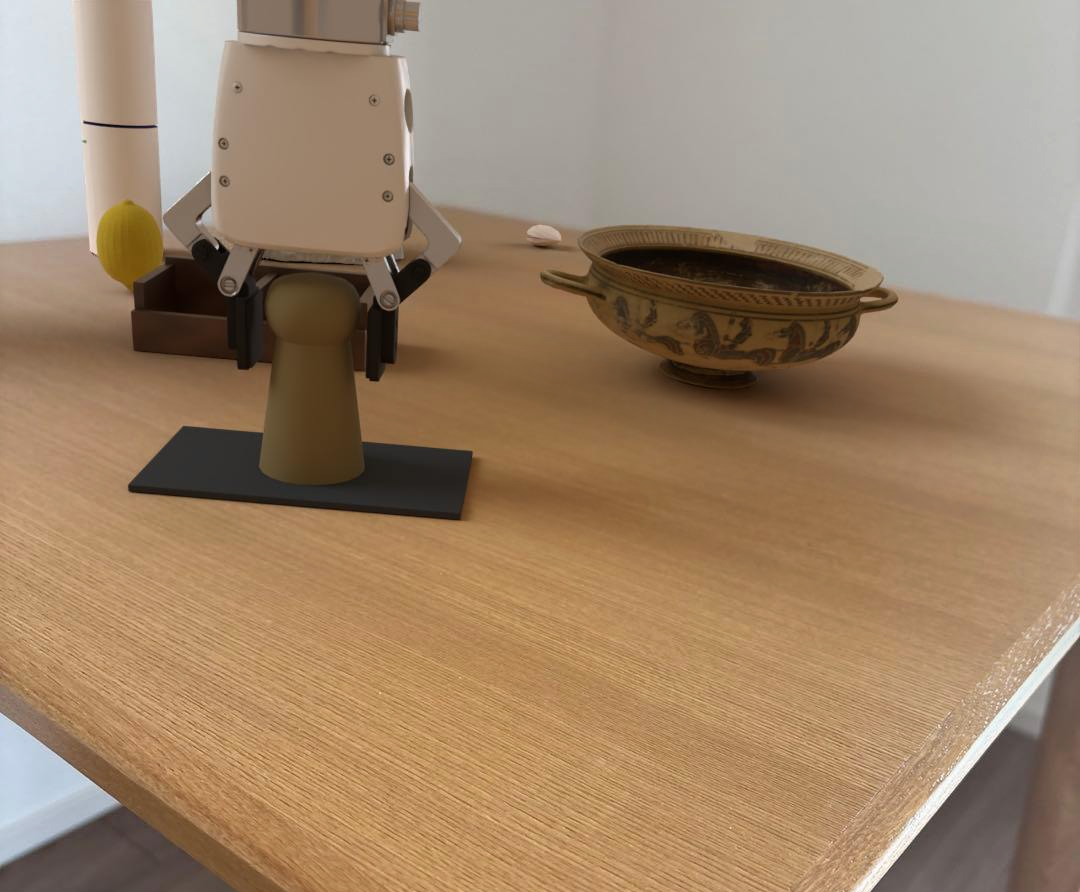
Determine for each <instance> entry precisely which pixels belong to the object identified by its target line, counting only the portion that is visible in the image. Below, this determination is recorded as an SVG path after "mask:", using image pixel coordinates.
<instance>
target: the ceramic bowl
mask: <svg viewBox="0 0 1080 892" xmlns="http://www.w3.org/2000/svg"><path fill="white" fill-rule="evenodd" d="M576 240H577V241H576V243H577V245H578V247H579V248H580V251H582V253H583V254H584V255H585V256H586V257H587V258H588V259H589V260H590V261H591V264H590V266H589V268H588V272H587V274H584V275H576V274H571V273H567V272H565V271H560V270H555V269H548V268H547V269H545V268H543V269H542V270H541V271H540V273H539V275H540V276H539V277H540V281H541V282H542V283H543V284H544V285H547V286H549V287H551V288H553V289H556V290H560V291H563V292H567V293H570V294H572V295H576V296H580V297H584V298H586V301H587V304H588V306H589V308H590V309H591V311H592V313H593V315H595V317H596V318H597V319H598V320H599V321H600V322H601V323H602V324H603V325H604V326H605V327H606V328H607V329H608V330H609V331H611V332H612V333H613V334H615V335H616V336H618V337H619V338H621V339H623V340H625V342H628V343H630V344H632V345H633V346H634V347H635V346H636V347H637V348H639V349H641V350H643V351H646V352H648V353H650V354H653V355H656V356H658V357H661V358H664V359H663V360H661V361H660V362H659V366H658V367H659V369H660V371H661V372H662V373H663V374H664V375H666V376H667V377H669V378H671V379H675V380H677V381H680V382H683V383H687V384H690V385H694V386H699V387H704V388H713V389H728V390H729V389H730V390H731V389H732V390H733V389H741V388H748V387H750V386H753V385H755V384H756V383H757V382H758V374H757V373H756V372H758V371H772V370H780V369H781V370H782V369H788V368H793V367H798V366H802V365H806V364H810V363H814V362H818V361H820V360H822V359H824V358H827V357H829V356H831V355H832V354H834V353H836V352H838V351H839V350H841V349H842V348H844V347H845V346H846V345H847V344H848V343H849V342H851V340H852V339H853V338H854V336H855V335H856V333H857V331H858V328H859V326H860V322H861V317H862V315H864V314H869V313H878V312H882V311H886V310H889V309H892V308H893V307H894V306H895V305H896V304H898V303H899V296H898V295H897V293H896V292H895V291H894V290H893V289H890V288H887V287H883V286H882V287H881V285H882V283H883V281H884V279H885V278H884V275H883V273H882V272H880V270H878V269H877V268H875V267H872V266H870V265H868V264H865V263H863V262H861V261H858V260H856V259H853V258H850V257H848V256H845V255H842V254H840V253H836V252H833V251H828V250H825V249H821V248H818V247H815V246H811V245H806V244H802V243H798V242H793V241H789V240H788V241H787V240H782V239H777V238H773V237H767V236H761V235H756V234H748V233H742V232H736V231H730V230H729V231H728V230H720V229H710V228H700V227H692V226H681V225H665V224H664V225H663V224H619V225H608V226H603V227H597V228H593V229H590V230H587V231H584V232H582V233H581V234H580V235H578V237H577V239H576ZM863 298H875V300H869V301H861V299H863Z"/></svg>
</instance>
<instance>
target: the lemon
mask: <svg viewBox="0 0 1080 892" xmlns="http://www.w3.org/2000/svg"><path fill="white" fill-rule="evenodd" d="M96 245H97V253H98V256H97V257H98V260H99V262H100V265H101V267H102V268H103V270H104V271H105V272H106V274H107V275H109V276H110V278H112V279H113V280H114V281H116V282H119V283H121V284H122V285H123V286H125V288H126V289H127V290H128V291H131V292H134V290H133V282H134V281H136V280H137V279H139V278H141V277H142V276H144V275H146V274H147V273H149V272H151V271H153V270H154V269H156V268H158V267H159V266H161V265H162V262H163V259H164V257H163V256H164V255H163V249H164V242H163V243H162V237H161V233H160V230H159V227H158V225H157V223H156V221H155V219H154V217H153V216H152V215H151V214H150V213H149V212H148V211H147V210H145V209H144V208H142V207H140V206H138V205H136V204H134V203H133V202H132V200H128V199H126V200H123V201H122V202H121V203H120V204H117V205H115V206H113V207H111V208H110V209H108V210H107V211H106V212H105V213H104V215H103V216H102V218H101V220H100V222H99V226H98V230H97V239H96Z"/></svg>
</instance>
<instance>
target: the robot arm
mask: <svg viewBox="0 0 1080 892" xmlns="http://www.w3.org/2000/svg"><path fill="white" fill-rule="evenodd" d="M421 27H422V2H419V1H418V2H417V1H408V0H236V29H237V31H236V32H237V33H236V34H237V35H236V36H237V40H236V39H235V40H234V39H229V40H224V43H223V48H222V54H221V59H220V60H221V61H220V66H219V72H218V79H217V88H216V96H215V105H214V106H215V107H214V119H213V129H212V130H213V131H212V146H211V147H212V149H211V170H209V171H208V172H207V173H206V174H205V175H203V177H201V179H200V180H198V181H197V182H196V183H195V184H194V185H193V186H192V187H191V188H190V189H189V190H187V191H186V192H185V193H184V194H183V195H182V196H181V197H180V198H179V199H177V201H175V202H174V203H173V204H172V205H171V206H170V207H169V208H168V209H167V210H166V211H165V212H164V213H163V214H162V222H163V223H164V225H165V226H166V228H167V229H169V231H170V232H171V233H172V234H173V236H175V238H176V239H177V240H178V241H179V242H180V243H181V245H183V246H184V248H186V249H187V250H188V251H189V252H190V253H191V257H193V258H194V259H195V260H196V262H197V263H198V264H199V265H200V266H201V267H202V268H203V269H204V270H205V271H206V272H207V273H208V274H209V275H210V276H211V277H212V278H213V279H214V281H215V282H216V283H217V284H218V288H219V290H220V292H221V293H222V294H224V295H225V296H226V300H227V337H228V348H229V349H230V350H237V359H236V366H237V367H236V368H237V370H238V371H241V370H242V371H249V370H250V369H252V368H254V366H255V365H257V364H258V362H259V360H260V359H261V357H262V356H263V295H262V291H259V287H256V280H255V278H254V275H255V273H256V270H257V268H258V266H259V264H260V263H261V262H262V260H263V259H262V257H263V255H264V252H265V250H266V249H271V250H281V251H291V252H302V253H313V254H325V255H336V256H347V257H360V260H361V262H362V264H361V265H362V267H363V269H364V273H366V275H367V277H368V279H369V282H370V284H371V287H372V289H373V292H374V294H375V295H374V297H373V304H372V306H371V307H370V309H369V310H368V313H367V344H366V368H365V379H367V380H368V381H369V382H374V383H376V382H377V383H379V382H380V380H381V379H382V376H383V374H384V373H385V371H386V368H387V364H389V365H395V363H396V362H397V356H398V341H399V339H398V338H399V337H398V335H399V315H400V310H399V309H400V305H401V304H402V303H403V302H404V301H406V300H407V299H408V298H409V297H410V296H411V295H412V294H413V293H415V291H417V290H418V289H419V288H420V287H421V286H423V285H424V284H425V283H426V282H428V280H429V279H430V278H431V277H432V276H433V275H434V274H435V273H436V272H437V271H439V270H440V269H441V268H442V267H443V266H444V265H445V264H446V263H447V262H448V261H449V260H450V259H451V258H453V257H454V256H456V254H457V253H458V252H459V251H460V249H461V247H462V242H463V240H462V237H461V235H460V234H459V233H458V231H457V230H456V229H455V228H454V227H453V226H452V225H451V224H450V223H449V221H448V220H446V218H445V217H444V216H443V215H442V214H441V212H440V211H439V210H437V208H436V207H435V206H434V205H433V204H432V203H431V202H430V200H429V198H427V197H426V196H425V195H424V194H423V192H422V191H421V190H420V189H419V188H418V187H417V186H416V185H415V137H414V135H415V134H414V133H415V132H414V112H413V99H412V87H411V79H410V78H411V77H410V71H409V66H408V61H407V57H406V56H405V55H397V54H392V44H391V43H394V38H395V37H398V36H399V33H400V34H406V32H407V31H408V32H420V31H421ZM210 208H211V216H212V217H211V218H212V224H213V227H214V230H215V232H216V234H218V235H219V236H220V238H222V239H224V240H225V241H227V242H228V243H229V242H230V243H231V244H233V246H232V248H231V250H230V251H229V249H228V248H227V247H226V246H225V245H224V244H223V243H222V242H221V241H220V239H218V238H217V237H216V236H213V235H212V234H211V233H210V232H209V230H208V228H207V227H206V226H205V224H204V223H203V215H204V214H205V212H207V211H208V210H209V209H210ZM413 226H415V227H416V228H417V230H419V231H420V233H422V235H423V236H424V237H425V239H426V240H427V246H426V247H425V248H424V249H423V250H422V251H421V252H420V253H419V254H418V255H417V256H416V257H414V258H413V259H411V261H410V262H408V263H407V264H406V265H405V266H404V267H403V268H402V269H399V266H398V264H397V260H396V259H394V256H393V254H394V253H396V252H397V251H398V250H400V248H401V247H402V246H403V244H404V242H406V241H407V240H408V239H410V237H411V235H412V232H413V228H414V227H413Z"/></svg>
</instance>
